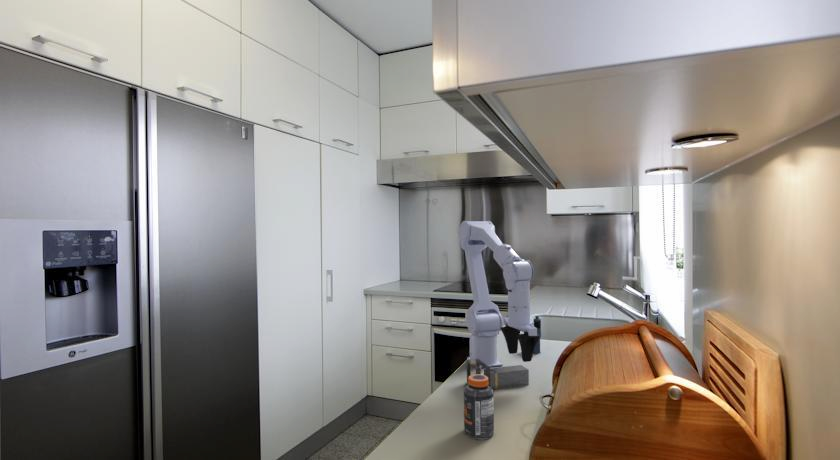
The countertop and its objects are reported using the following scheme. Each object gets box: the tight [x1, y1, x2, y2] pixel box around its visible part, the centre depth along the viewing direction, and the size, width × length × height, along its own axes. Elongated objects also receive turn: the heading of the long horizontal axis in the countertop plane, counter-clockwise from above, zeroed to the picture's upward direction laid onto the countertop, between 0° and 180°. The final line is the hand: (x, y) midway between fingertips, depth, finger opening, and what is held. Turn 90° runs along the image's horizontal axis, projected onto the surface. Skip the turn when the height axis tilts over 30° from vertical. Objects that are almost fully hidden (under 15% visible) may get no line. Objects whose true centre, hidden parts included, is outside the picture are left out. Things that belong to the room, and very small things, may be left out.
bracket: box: [476, 359, 491, 387], centre depth 110 cm, size 7×1×6 cm, turn 16°
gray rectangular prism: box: [483, 364, 530, 390], centre depth 112 cm, size 4×11×4 cm, turn 106°
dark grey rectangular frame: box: [466, 359, 482, 385], centre depth 109 cm, size 7×1×7 cm, turn 16°
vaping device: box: [533, 315, 542, 354], centre depth 141 cm, size 3×5×12 cm, turn 78°
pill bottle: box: [463, 373, 495, 440], centre depth 85 cm, size 6×6×11 cm
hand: (519, 357), depth 113 cm, fingers open, 7 cm apart
